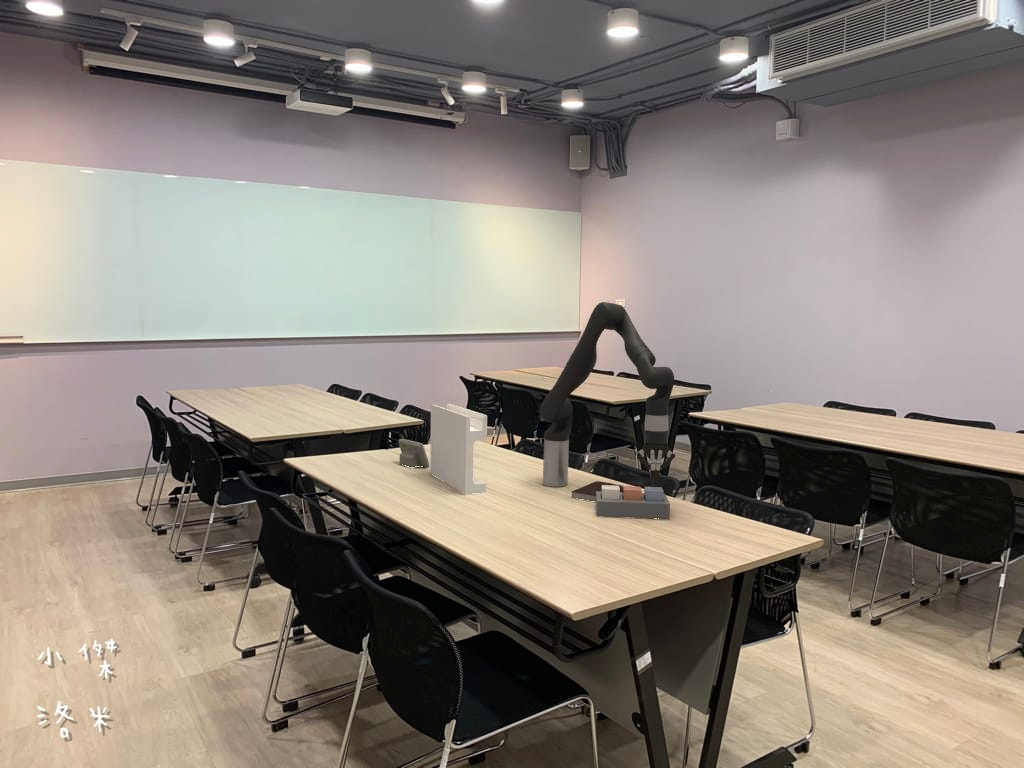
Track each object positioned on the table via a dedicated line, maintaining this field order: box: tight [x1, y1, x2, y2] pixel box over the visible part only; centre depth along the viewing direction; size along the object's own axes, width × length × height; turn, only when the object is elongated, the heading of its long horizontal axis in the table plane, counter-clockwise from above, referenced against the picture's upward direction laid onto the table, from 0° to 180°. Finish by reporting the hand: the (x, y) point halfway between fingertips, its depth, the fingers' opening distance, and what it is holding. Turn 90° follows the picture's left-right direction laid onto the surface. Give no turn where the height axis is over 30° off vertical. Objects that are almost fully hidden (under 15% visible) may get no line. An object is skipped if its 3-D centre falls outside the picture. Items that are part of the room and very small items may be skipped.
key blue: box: [643, 486, 665, 501], centre depth 239 cm, size 6×6×4 cm
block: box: [429, 403, 488, 495], centre depth 275 cm, size 35×8×28 cm, turn 27°
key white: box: [601, 485, 620, 500], centre depth 240 cm, size 6×6×4 cm
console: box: [595, 491, 671, 520], centre depth 240 cm, size 23×13×5 cm, turn 85°
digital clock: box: [398, 438, 430, 468], centre depth 306 cm, size 16×9×11 cm, turn 32°
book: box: [570, 480, 624, 503], centre depth 262 cm, size 12×19×3 cm, turn 146°
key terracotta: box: [622, 485, 643, 500], centre depth 240 cm, size 6×6×4 cm
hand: (654, 481), depth 239 cm, fingers closed
